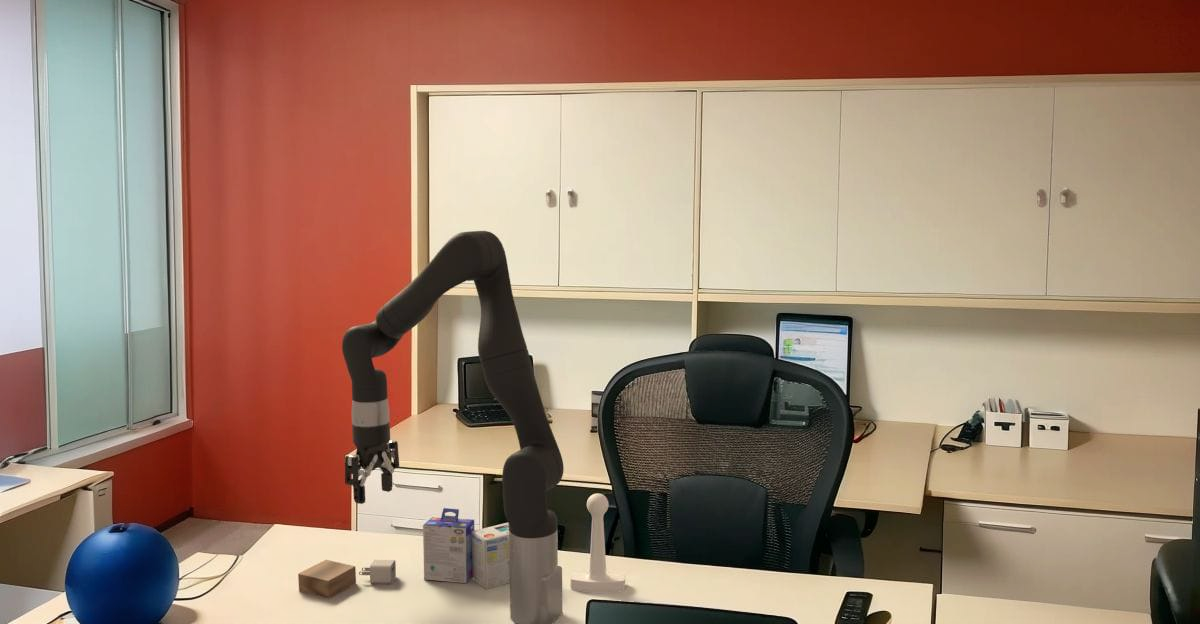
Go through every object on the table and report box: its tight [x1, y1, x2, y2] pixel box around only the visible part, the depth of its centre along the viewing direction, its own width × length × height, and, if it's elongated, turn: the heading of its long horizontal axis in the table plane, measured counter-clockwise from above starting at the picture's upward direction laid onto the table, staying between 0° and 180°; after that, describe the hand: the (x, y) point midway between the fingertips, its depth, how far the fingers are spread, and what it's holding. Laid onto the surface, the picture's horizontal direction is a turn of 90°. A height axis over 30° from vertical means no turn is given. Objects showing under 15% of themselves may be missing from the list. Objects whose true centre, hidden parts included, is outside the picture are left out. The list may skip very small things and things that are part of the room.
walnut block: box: [297, 559, 357, 599], centre depth 189 cm, size 8×8×4 cm
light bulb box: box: [471, 521, 510, 590], centre depth 193 cm, size 11×7×11 cm, turn 125°
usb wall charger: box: [358, 559, 397, 585], centre depth 192 cm, size 4×7×4 cm, turn 87°
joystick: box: [570, 492, 626, 594], centre depth 189 cm, size 11×8×20 cm
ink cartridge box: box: [422, 507, 475, 584], centre depth 193 cm, size 10×6×14 cm, turn 78°
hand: (373, 496), depth 190 cm, fingers open, 8 cm apart
